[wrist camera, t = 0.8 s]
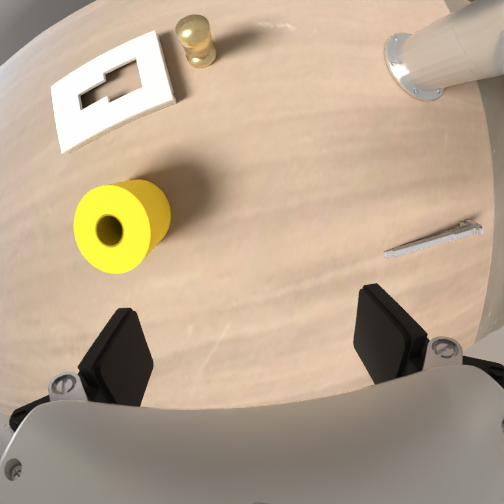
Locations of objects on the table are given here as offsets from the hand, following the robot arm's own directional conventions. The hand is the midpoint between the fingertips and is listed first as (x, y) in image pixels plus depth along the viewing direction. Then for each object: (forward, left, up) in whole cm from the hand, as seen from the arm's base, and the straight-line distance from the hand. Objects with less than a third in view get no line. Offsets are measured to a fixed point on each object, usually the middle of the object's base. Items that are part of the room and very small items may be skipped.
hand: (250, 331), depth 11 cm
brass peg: (-1, -23, -27) cm, 36 cm away
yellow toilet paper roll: (+14, -4, -27) cm, 31 cm away
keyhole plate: (+13, -23, -27) cm, 38 cm away
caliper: (-30, +12, -28) cm, 42 cm away
